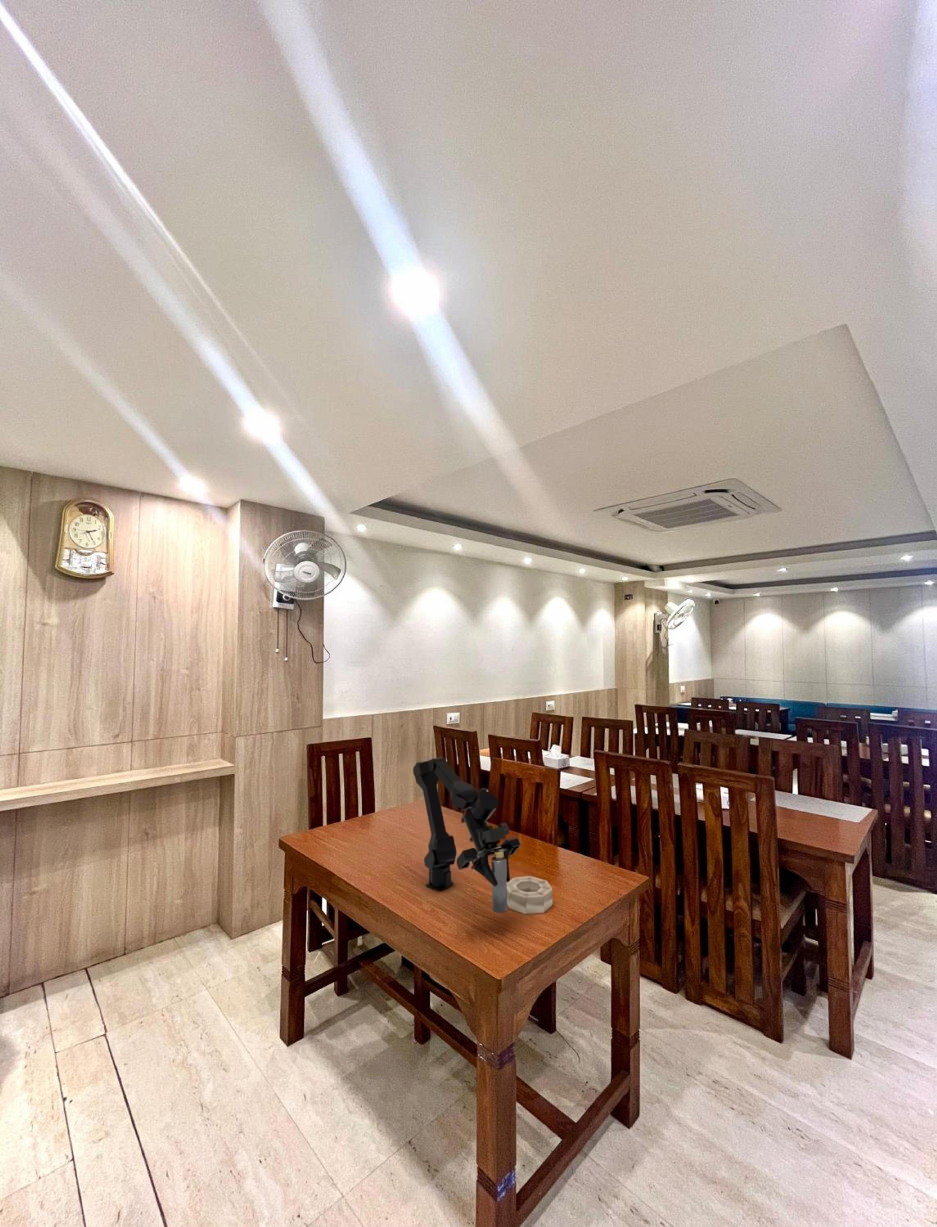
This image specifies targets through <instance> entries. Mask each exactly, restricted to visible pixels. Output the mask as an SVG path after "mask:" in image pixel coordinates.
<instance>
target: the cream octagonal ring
mask: <svg viewBox="0 0 937 1227" xmlns="http://www.w3.org/2000/svg"><path fill="white" fill-rule="evenodd" d="M552 906H553V888H552V886H551V885H550V883H549V882H548V881H547V880H546V879H542V878H538V877H535V876H532V875H529V876H519V877H518V876H517V877H513V878H510V881H509V882H507V907H508V908H509V909H510V910H513V911H514V912H518V913H521V914H524V915H533V914H543V913H546V911H547V910H548V909H550V908H551V907H552Z"/></svg>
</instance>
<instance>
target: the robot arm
mask: <svg viewBox="0 0 937 1227" xmlns="http://www.w3.org/2000/svg"><path fill="white" fill-rule="evenodd" d="M412 774H413V776H414V779H415V782H416V784H417V785H418V786H419V788H420V789H421V790H422V795H423V797H424V802H425V807H426V808H425V809H426V814H427V818H428V819H427V820H428V824H429V830H430V838H429V842H428V847H427V848H428V852H427V854H426V855H425V856H424V858H423V861H424V866H425V867H426V868H428V882H427V883H426V884H425V886H426V887H428V888H431V889H434V890H437V891H438V892H442V891H444V890H445V889H447V888H449V887H451V885H453V884H454V881H452V870H451V865H452V866H453V865H455V863H456V866H457V868H458V870H464V869H465V870H466V869H468V868H469V866H470V864H472V865H471V867H470V868H471V870H473V871H474V870H475V871H476V872H478V873H479V874H480V875H481V876H482V877H483V878H484V879H486V880H487V881H488V882H489V883H490V884H491V886H492V885H493V886H494V887H495V886H496V885H497V883H496V880H495V877H494V875H493V872H492V867H491V866H490V863H489V862H490V861H489V857H491V856H492V857H493V856H495V850H503V854H504V857H505V858H506V859H507V882H509V881H510V880H511V877H510V866H509V857H510V856H512V855H515V853H516V852H517V851H518V850H519V849H520V847H521V846H522V843H521V841H520V839H519V838H518V837H517V836H514V837H510V838H507V837H506V836H508V835H510V832H511V831H510V828H509V825H508V824H507V823H506V822H502V823H499V824H497V827H495V828H494V827H493V826H492V825H489V823H488V819H490V817H491V816H492V815H493V813H494V812H495V811H496V809H497V808H498V806H499V800H498V798H497V796H496V795H495V794H493V793H492V792H490V791H488V789H487V788H481V789H479V790H477V788H475V786H473V785H471V784H470V783H467V782H465V781H463V780H462V779H461V778H460V777H459V776H458V774H456V772H455V771H454V770H453V768H451V766H450V765H449V764H448V763H447V759H446V758H445V757H434V758H431V759H429V760H426V761H418V762H416V763H415V765H414V766H413V768H412ZM439 780H440V782H441V783H442V784H443V786H444V787H445V788H446V789H447V791H448V792H449V793H450V801H451V803H452V804H453V807H454V808H455V809H456V810H457V811H463V810H466V812H462V816H461V818H460V819H461V820H460V822H461V824H464V823H465V825H466V828H467V830H468V832H469V834H470V838H469V841H470V843H473V844H474V846H475V847H471V848H467V849H464V850H463V849H462V851H461V853H460V854H459V856H458V857H457V846H456V844H455V837H454V836H453V835H450V834H449V833H448V831H447V829H446V825H445V819H444V815H443V811H442V810H443V809H442V806H441V805H442V804H441V800H440V794H439V789H438V783H439ZM501 840H503V842H502V843H501ZM500 843H501V845H499V844H500ZM456 857H457V858H456ZM470 862H471V863H470Z"/></svg>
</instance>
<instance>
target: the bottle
mask: <svg viewBox="0 0 937 1227" xmlns="http://www.w3.org/2000/svg"><path fill="white" fill-rule="evenodd" d="M491 870H492V872H493V875H494V877H495V880H496V883H497V885H496V886H495V887H494V886H493V885H492V884H491V908H492V912H494V913H496V914H504V913H506V912H507V911H508V904H507V859H506V858H505V857H504V854H503V850H495V855H494V856H492V857H491Z"/></svg>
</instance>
